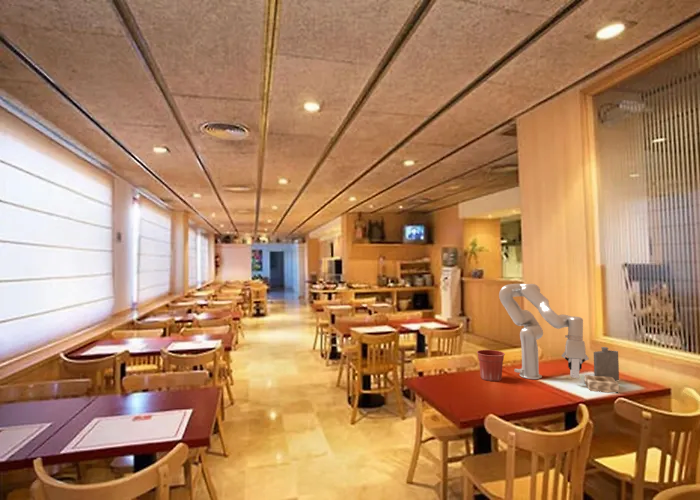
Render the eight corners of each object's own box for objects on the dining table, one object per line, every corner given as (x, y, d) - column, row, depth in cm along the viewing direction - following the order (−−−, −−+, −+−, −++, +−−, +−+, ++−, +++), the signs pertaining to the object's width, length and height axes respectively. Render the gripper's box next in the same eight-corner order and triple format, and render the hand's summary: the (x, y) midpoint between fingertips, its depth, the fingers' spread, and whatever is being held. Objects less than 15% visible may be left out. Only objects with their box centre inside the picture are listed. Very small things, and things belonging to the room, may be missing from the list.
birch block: (589, 390, 221) (589, 381, 221) (584, 383, 234) (584, 374, 234) (619, 393, 216) (618, 384, 216) (612, 385, 229) (612, 377, 229)
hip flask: (597, 382, 235) (596, 348, 236) (592, 380, 239) (591, 347, 240) (620, 380, 238) (619, 347, 239) (614, 379, 242) (613, 346, 243)
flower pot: (501, 375, 254) (500, 349, 254) (508, 382, 237) (508, 355, 238) (474, 374, 255) (474, 349, 256) (480, 382, 239) (480, 355, 239)
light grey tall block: (571, 377, 229) (571, 358, 229) (570, 375, 233) (570, 356, 233) (579, 378, 228) (579, 359, 228) (577, 376, 232) (578, 357, 232)
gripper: (560, 338, 230) (559, 369, 230) (593, 340, 224) (592, 373, 224) (558, 335, 237) (557, 366, 237) (590, 338, 231) (589, 369, 231)
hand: (574, 369), depth 230 cm, fingers closed on light grey tall block, 4 cm apart
